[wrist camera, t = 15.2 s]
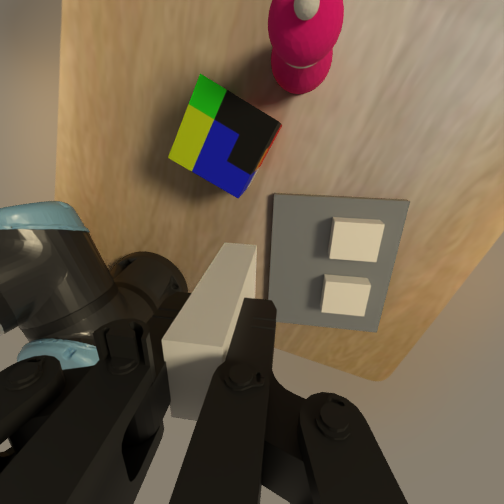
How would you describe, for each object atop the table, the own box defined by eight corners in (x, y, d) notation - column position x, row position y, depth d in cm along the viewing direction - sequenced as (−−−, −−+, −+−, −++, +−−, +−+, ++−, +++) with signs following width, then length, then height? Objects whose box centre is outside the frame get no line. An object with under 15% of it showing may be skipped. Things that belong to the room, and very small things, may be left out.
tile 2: (320, 303, 49) (360, 307, 48) (321, 312, 46) (364, 316, 45) (324, 273, 46) (367, 277, 45) (325, 281, 44) (371, 285, 43)
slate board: (374, 328, 50) (376, 332, 49) (267, 316, 53) (267, 320, 52) (407, 199, 41) (410, 201, 40) (274, 192, 43) (274, 194, 42)
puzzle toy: (249, 185, 44) (238, 198, 34) (194, 153, 43) (168, 157, 34) (282, 125, 40) (279, 121, 30) (222, 88, 39) (200, 73, 30)
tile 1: (327, 252, 45) (371, 255, 44) (329, 258, 42) (376, 262, 41) (332, 216, 42) (379, 219, 41) (334, 221, 40) (384, 224, 39)
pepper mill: (311, 20, 34) (331, -112, 16) (337, 75, 36) (382, 12, 18) (263, 59, 37) (233, -17, 18) (290, 109, 38) (287, 84, 20)
